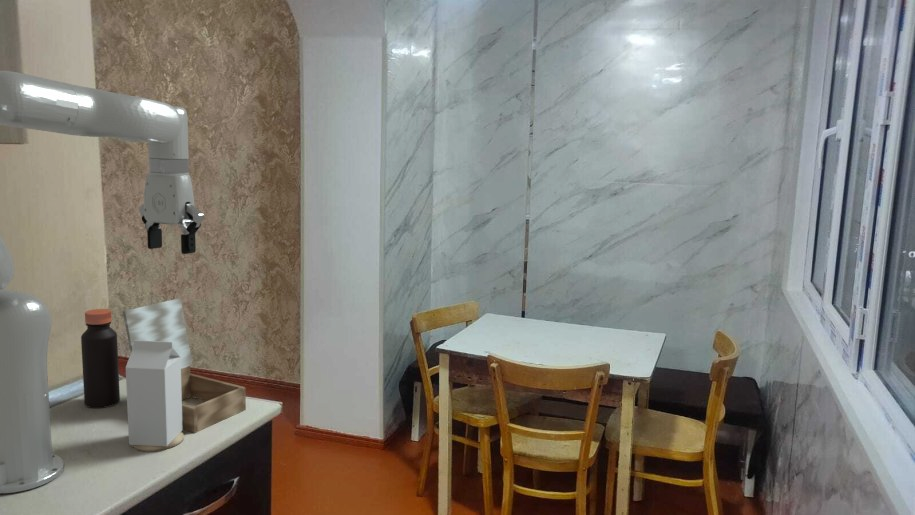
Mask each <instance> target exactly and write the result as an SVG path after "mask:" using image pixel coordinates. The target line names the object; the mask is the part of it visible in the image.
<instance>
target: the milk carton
mask: <svg viewBox="0 0 915 515" xmlns="http://www.w3.org/2000/svg"><path fill="white" fill-rule="evenodd" d="M125 378H126V380H125V381H126V383H125V384H126V386H125V387H126V404H127V406H126V408H127V428H128V430H127V431H128V445H130V446H132V445H146V446H168V445H169V444H170V443H171V442H172V441H173V440H174V439H175V438H176V437H177V436H178V435H179V434H180V433H181V432H182V431H184V430H183V426H182V403H183V400H182V392H181V359H180V356H179V355H178V353H177V352H176V351H175V350H174V349H173V347H172V342H161V341H139V340H134V347H133V350H132V352H130V355H129V358H128V360H127V363H126V366H125ZM182 433H183V432H182Z"/></svg>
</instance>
